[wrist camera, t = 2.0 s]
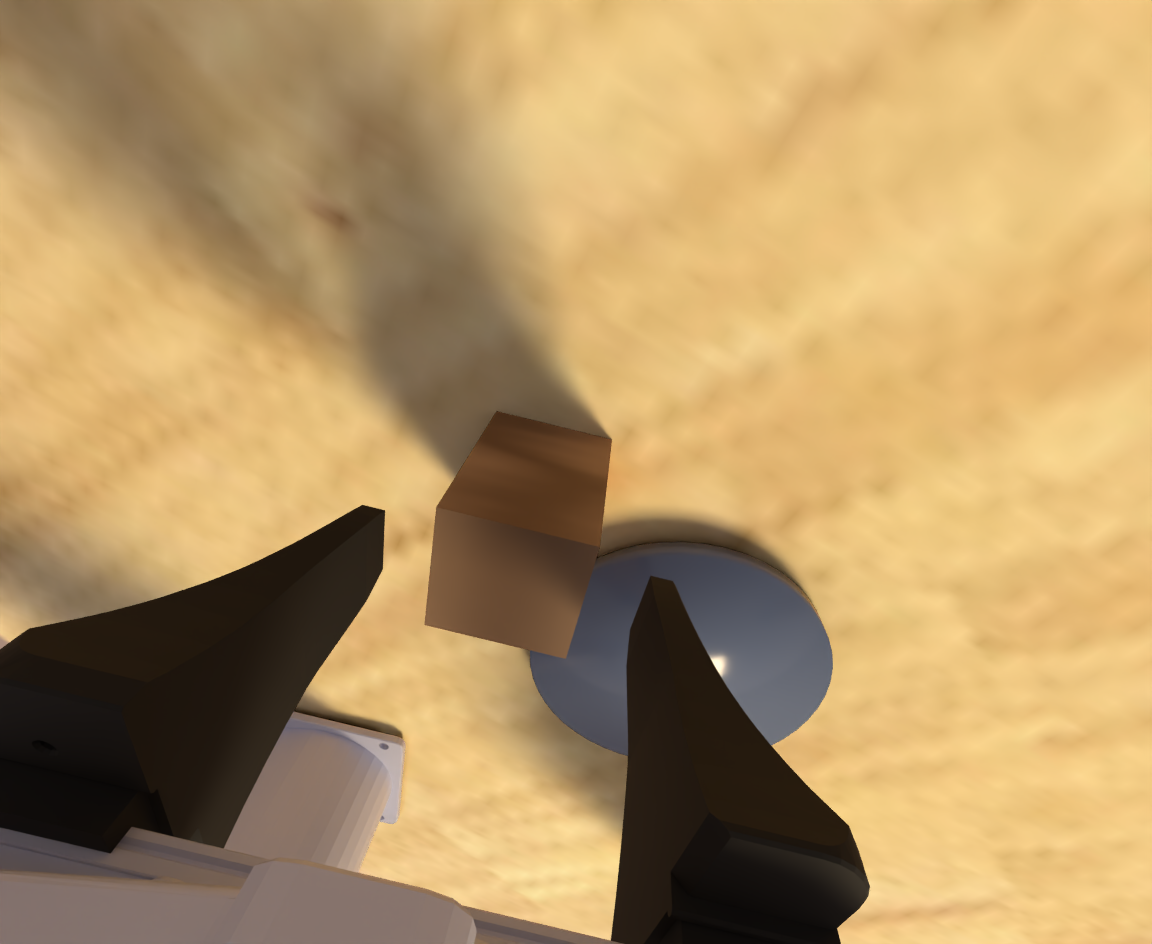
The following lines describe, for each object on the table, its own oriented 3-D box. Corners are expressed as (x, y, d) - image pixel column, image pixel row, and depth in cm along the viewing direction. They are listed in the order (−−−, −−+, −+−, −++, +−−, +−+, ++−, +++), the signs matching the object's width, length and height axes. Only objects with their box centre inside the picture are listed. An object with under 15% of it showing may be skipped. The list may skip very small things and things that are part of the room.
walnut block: (482, 507, 20) (424, 625, 14) (496, 410, 18) (436, 506, 12) (585, 532, 20) (565, 658, 14) (611, 439, 18) (599, 546, 12)
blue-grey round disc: (514, 708, 25) (509, 728, 24) (565, 505, 19) (561, 521, 18) (756, 767, 25) (760, 788, 24) (881, 582, 19) (893, 601, 18)
